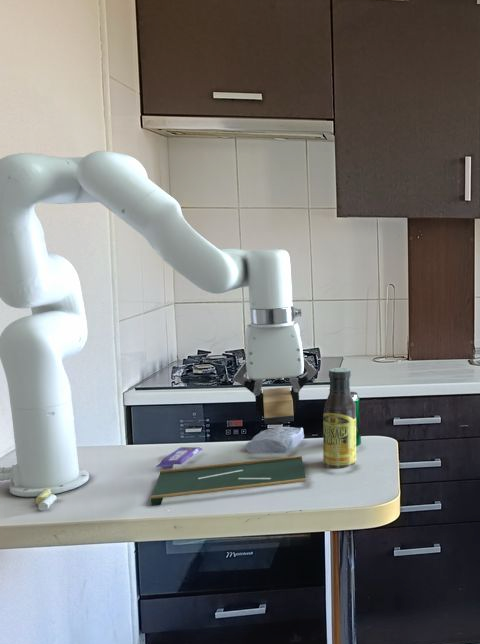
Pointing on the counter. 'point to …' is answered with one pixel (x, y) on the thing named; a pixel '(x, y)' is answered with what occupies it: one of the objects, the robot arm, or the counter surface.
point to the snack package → (178, 456)
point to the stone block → (275, 440)
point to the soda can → (357, 417)
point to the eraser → (277, 405)
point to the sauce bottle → (339, 422)
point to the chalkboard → (227, 477)
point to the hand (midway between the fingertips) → (278, 412)
